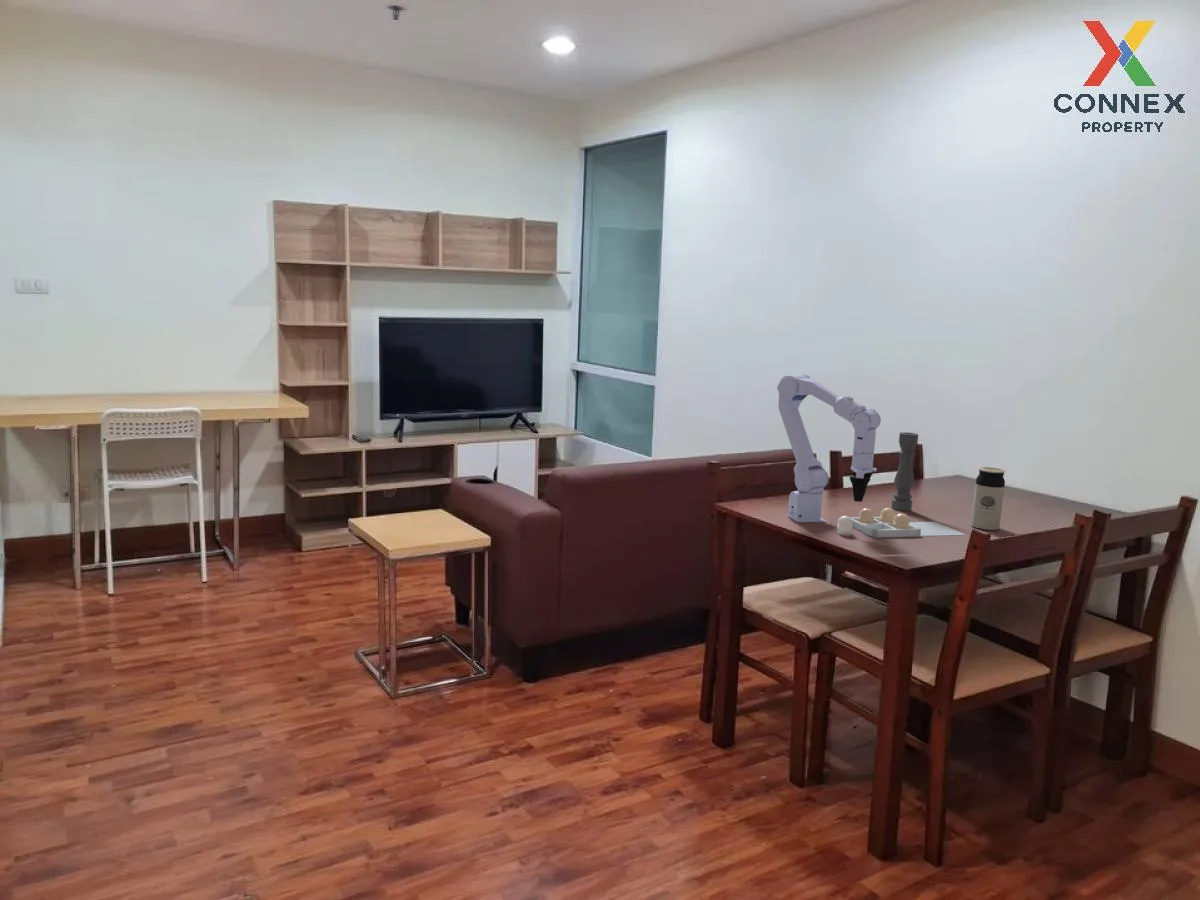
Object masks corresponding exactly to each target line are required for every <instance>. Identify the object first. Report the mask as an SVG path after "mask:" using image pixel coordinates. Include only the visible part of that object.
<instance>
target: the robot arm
mask: <svg viewBox="0 0 1200 900" xmlns="http://www.w3.org/2000/svg"><path fill="white" fill-rule="evenodd" d="M776 389H777V393H778V406H777V407H778V411H779V414H780V416H781V420H782V423H783V425H784V429H785V431H786V434H787V438H788V441H789V444H790V446H791V447H790V448H791V450H792V452H793V456H794V459H795V461H796V463H795V466H793V472H794V483H795V486H796V488H797V490H794V491H791V492H790V493H789V496H788V504H787V505H788V506H787V514H786V515H785V516H786V517H788V518H790V519H791V520H793V521H795V522H797V523H809V522H810V523H814V522H815V523H817V522H819V523H820V522H827V520H826V519H823V518H822V509H823V508H822V507H823V497H824V490H825V487H826V486H827V484H828V483H829V479H830V478H829V474H828V471H826V469H825V468H824V467H823V465H822V462H821V461H820V460H818V459H817V457H815V455H814V452H813V449H812V446H811V443H810V440H809V436H808V434H807V430H806V428H805V425H804V422H803V419H802V416H801V413H800V410H799V407H800V405H801V404H802V402H803V400H805V399H806V398H807V397H808V395H809V396H812V397H815V398H816V399H818V400H820V401H821V402H823V403H826V404H827V405H829V406H830V407H833V408H832V409H833V412H834V414H836V415H837V416H839V417H841V418H842V419H844V420H846V421H847V422H848V423H850V424H851V425H852V427H853V429H854V438H853V450H852V451H853V452H852V459H851V466H850V470H851V473H852V475H850V476H849V480H850V482H851V486H852V494H853V495H852V496H853V501H854V502H861V503H862V502H863V500H864V498H865V494H866V490H867V487H868V484H869V483H870V481H871V477H872V475H874V474H873V473H875V472H877V468H876V467H873V466H874V456H875V455H874V454H875V445H876V435H877V429H878V428H879V426H880V425H881V415H880V414H879V413H878V412H877V411H876V409H873V408H871V409H867V406H866V405H863V404H862V405H861V404H859V403H857V401H854V398H853V397H852V396H849V395H848V396H845V395H844V396H839V395H837V394H836V393H835V392H832V390H830V389H828V388H827V387H826V386H824V385H822V384H821V383H820V382H819V381H817V380H816V379H815V378H813V377H811V376H809V375H808V374H800V375H798V374H797V375H784V376H783V377H782V378H781V379H780V381H779V383H778V385H777V386H776Z"/></svg>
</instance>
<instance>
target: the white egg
mask: <svg viewBox="0 0 1200 900" xmlns="http://www.w3.org/2000/svg"><path fill="white" fill-rule="evenodd" d="M853 529H854V528H853V521H852V519H851V518H850V516H848V515H842V516H840V517H839V518H838V520H837V525H836V534H837V535H839V536H844V537H845V536H846V537H850V536H852V535H853Z"/></svg>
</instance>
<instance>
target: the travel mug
mask: <svg viewBox="0 0 1200 900" xmlns="http://www.w3.org/2000/svg"><path fill="white" fill-rule="evenodd" d="M977 469H978V472H979V473H978V475H977V477H976V478H975V487H974V496H973V503H972V512H971V522H970V525H971V526H972V527H973V528H975V529H978V528H981V529H980V530H982V529H984V530H983V531H997V530H1000V526H1001V519H1002V510H1003V501H1004V494H1005V485H1006V481H1005V477H1004V475H1005V473H1006V470H1005V468H1004V469H1003V468H999V467H994V466H993V467H992V466H979V467H978V468H977Z"/></svg>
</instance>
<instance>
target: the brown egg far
mask: <svg viewBox="0 0 1200 900" xmlns="http://www.w3.org/2000/svg"><path fill="white" fill-rule="evenodd" d="M895 516H896V511H895V510H893V509H891V507H885V508H883V509H881V511H880V515H879V517H880V521H881V522H883V523H893V521H894V517H895Z"/></svg>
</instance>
